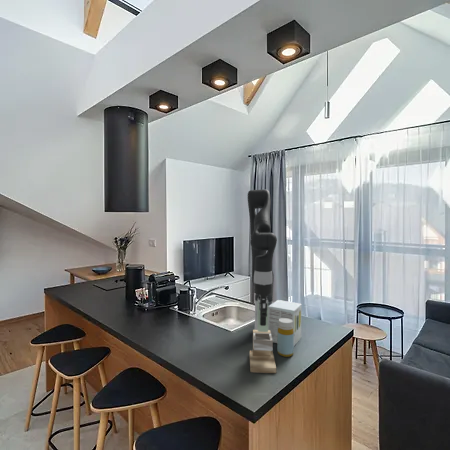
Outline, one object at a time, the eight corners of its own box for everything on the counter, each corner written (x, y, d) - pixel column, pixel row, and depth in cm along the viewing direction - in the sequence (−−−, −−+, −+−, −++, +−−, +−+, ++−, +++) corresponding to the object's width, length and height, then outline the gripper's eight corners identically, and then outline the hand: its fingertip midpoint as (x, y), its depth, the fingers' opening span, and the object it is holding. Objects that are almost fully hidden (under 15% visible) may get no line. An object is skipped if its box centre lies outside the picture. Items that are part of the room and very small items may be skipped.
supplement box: (293, 347, 133) (294, 310, 133) (267, 341, 140) (267, 306, 140) (301, 337, 145) (302, 303, 144) (277, 332, 152) (277, 299, 151)
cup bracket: (249, 355, 126) (249, 328, 126) (272, 355, 126) (272, 328, 125) (250, 372, 112) (250, 341, 112) (276, 373, 112) (276, 342, 111)
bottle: (274, 353, 128) (274, 320, 127) (283, 348, 133) (283, 316, 132) (287, 359, 123) (288, 324, 122) (296, 353, 128) (296, 320, 127)
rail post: (257, 327, 119) (257, 299, 119) (267, 328, 119) (267, 299, 119) (257, 331, 115) (258, 301, 115) (267, 331, 115) (268, 302, 115)
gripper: (253, 277, 124) (252, 317, 124) (254, 285, 110) (254, 329, 110) (270, 278, 123) (270, 317, 124) (274, 285, 109) (273, 330, 110)
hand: (262, 323), depth 117 cm, fingers closed on rail post, 4 cm apart
